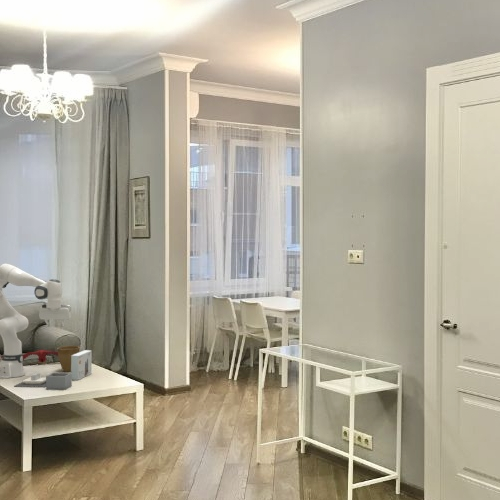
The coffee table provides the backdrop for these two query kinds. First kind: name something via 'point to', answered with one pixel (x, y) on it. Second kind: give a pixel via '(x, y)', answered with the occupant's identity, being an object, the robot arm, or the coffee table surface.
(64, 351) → the plant pot
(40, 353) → the decorative bird sculpture
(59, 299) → the robot arm
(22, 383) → the black rubber mat
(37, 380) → the cream lid
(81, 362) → the skincare box
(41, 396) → the coffee table surface
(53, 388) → the grey storage box
